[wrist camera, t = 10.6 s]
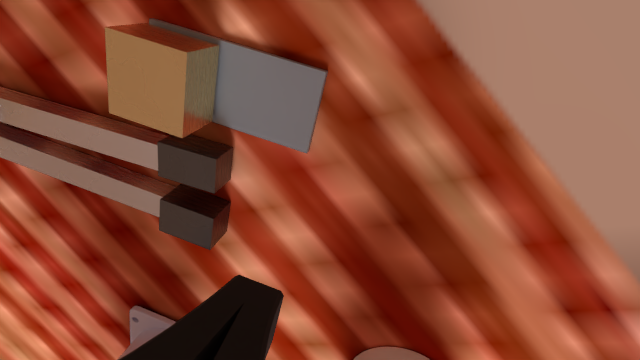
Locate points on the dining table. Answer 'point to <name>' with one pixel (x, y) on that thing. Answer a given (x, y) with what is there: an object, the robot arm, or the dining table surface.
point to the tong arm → (122, 140)
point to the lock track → (263, 92)
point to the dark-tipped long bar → (123, 186)
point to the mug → (389, 354)
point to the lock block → (160, 77)
